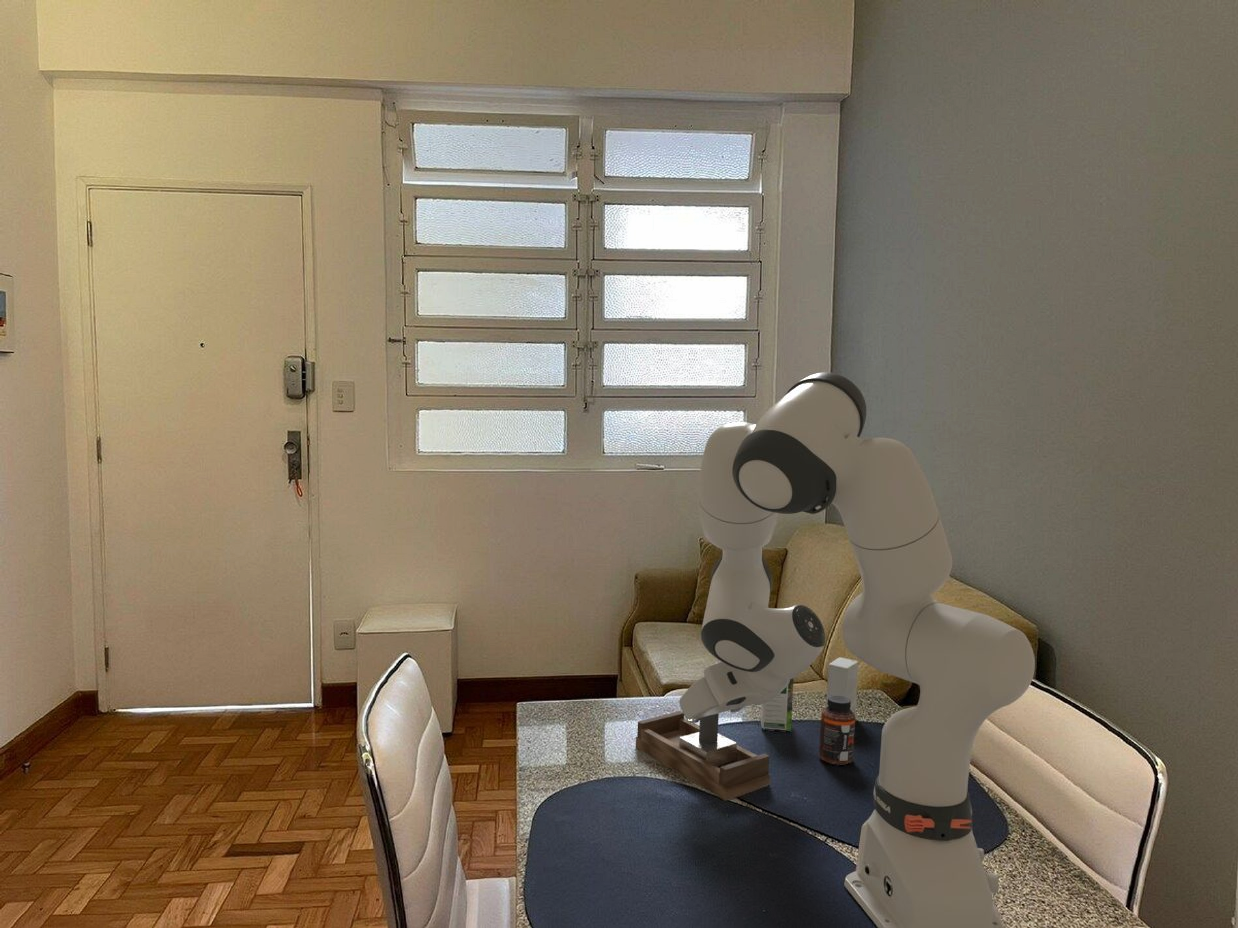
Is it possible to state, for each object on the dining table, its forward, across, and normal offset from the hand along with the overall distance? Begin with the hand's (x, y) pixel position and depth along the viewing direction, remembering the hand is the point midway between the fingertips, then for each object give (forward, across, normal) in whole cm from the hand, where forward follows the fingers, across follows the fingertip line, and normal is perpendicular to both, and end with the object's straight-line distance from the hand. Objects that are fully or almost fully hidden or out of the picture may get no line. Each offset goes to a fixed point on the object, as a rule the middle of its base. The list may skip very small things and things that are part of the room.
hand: (712, 713), depth 148 cm
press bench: (+8, +1, +6) cm, 10 cm away
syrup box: (+13, -24, +2) cm, 27 cm away
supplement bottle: (+1, -22, +14) cm, 26 cm away
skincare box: (+10, -38, +5) cm, 39 cm away
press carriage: (+6, +1, +5) cm, 8 cm away
